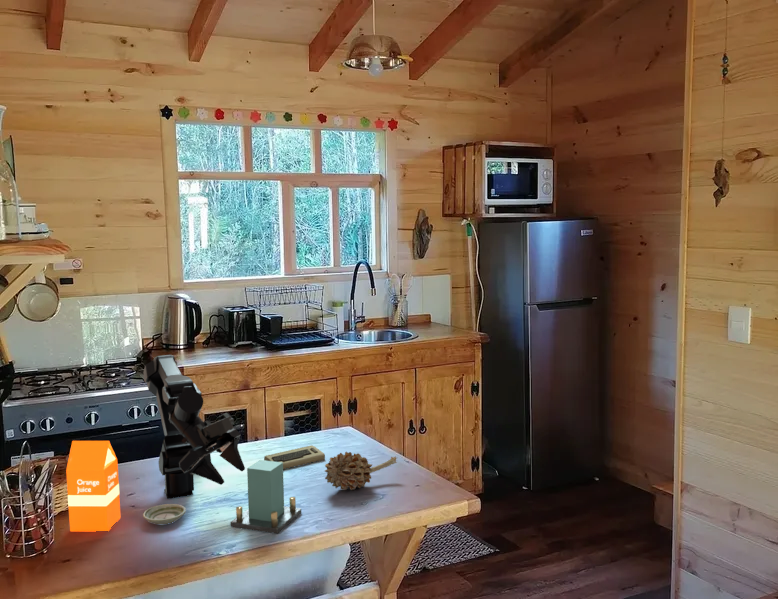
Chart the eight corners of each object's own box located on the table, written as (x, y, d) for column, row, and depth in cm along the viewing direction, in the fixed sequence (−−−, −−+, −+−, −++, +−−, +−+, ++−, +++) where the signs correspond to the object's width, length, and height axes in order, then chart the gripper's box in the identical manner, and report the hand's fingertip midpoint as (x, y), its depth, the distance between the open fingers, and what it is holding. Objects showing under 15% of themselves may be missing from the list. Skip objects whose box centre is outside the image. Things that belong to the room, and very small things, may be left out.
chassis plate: (277, 533, 167) (276, 515, 167) (230, 526, 171) (230, 509, 171) (301, 513, 178) (301, 496, 178) (257, 507, 182) (256, 490, 182)
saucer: (185, 510, 181) (185, 501, 181) (186, 527, 172) (186, 516, 172) (144, 515, 178) (143, 505, 178) (142, 532, 169) (141, 521, 169)
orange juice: (84, 517, 177) (79, 435, 175) (121, 517, 177) (116, 435, 175) (69, 531, 169) (63, 446, 167) (107, 531, 169) (102, 446, 167)
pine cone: (338, 501, 185) (337, 463, 184) (316, 490, 193) (316, 453, 191) (406, 480, 199) (405, 444, 198) (383, 471, 206) (383, 436, 205)
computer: (277, 473, 207) (276, 461, 207) (263, 465, 214) (263, 454, 213) (325, 461, 217) (325, 450, 216) (311, 454, 223) (311, 443, 223)
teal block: (272, 521, 171) (270, 470, 169) (248, 518, 173) (247, 468, 171) (284, 511, 176) (282, 462, 175) (261, 508, 178) (260, 459, 177)
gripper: (188, 415, 167) (232, 468, 165) (232, 396, 185) (273, 443, 183) (160, 446, 171) (203, 498, 169) (206, 424, 189) (246, 471, 186)
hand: (233, 476), depth 176 cm, fingers open, 9 cm apart
